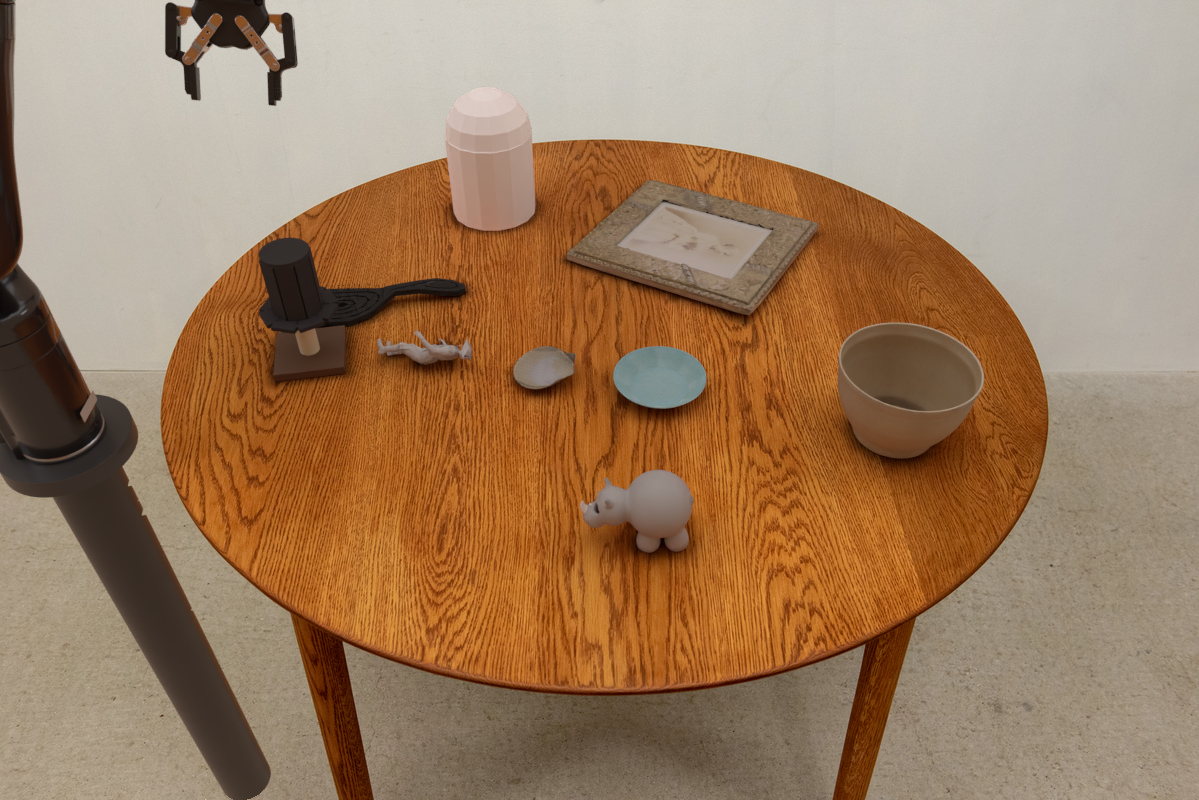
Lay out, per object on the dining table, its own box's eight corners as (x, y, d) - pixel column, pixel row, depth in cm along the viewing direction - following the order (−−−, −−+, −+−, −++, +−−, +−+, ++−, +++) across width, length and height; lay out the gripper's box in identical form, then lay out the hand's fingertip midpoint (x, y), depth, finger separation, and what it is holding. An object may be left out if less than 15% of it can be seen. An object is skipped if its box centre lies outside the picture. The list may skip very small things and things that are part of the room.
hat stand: (274, 382, 122) (243, 280, 111) (279, 339, 129) (249, 239, 118) (345, 373, 123) (321, 271, 113) (346, 331, 130) (323, 231, 119)
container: (450, 191, 158) (437, 75, 144) (530, 184, 160) (523, 69, 146) (456, 234, 148) (442, 114, 135) (541, 226, 150) (535, 106, 136)
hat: (256, 338, 117) (238, 278, 111) (262, 292, 124) (245, 233, 118) (338, 329, 118) (324, 269, 112) (339, 284, 125) (326, 225, 119)
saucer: (697, 427, 116) (698, 413, 114) (603, 412, 118) (603, 398, 116) (711, 366, 124) (712, 353, 123) (623, 353, 126) (624, 340, 125)
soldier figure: (398, 344, 129) (478, 326, 126) (403, 378, 129) (484, 361, 126) (369, 337, 122) (453, 318, 119) (374, 374, 121) (459, 355, 118)
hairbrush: (469, 290, 132) (283, 311, 126) (470, 312, 135) (288, 333, 129) (459, 258, 138) (282, 277, 132) (461, 279, 140) (286, 299, 135)
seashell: (522, 368, 127) (509, 396, 120) (518, 347, 125) (505, 374, 118) (582, 364, 125) (573, 392, 118) (579, 343, 124) (569, 370, 117)
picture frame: (648, 186, 160) (648, 172, 158) (818, 231, 148) (820, 216, 146) (565, 263, 143) (565, 249, 141) (751, 321, 131) (752, 306, 129)
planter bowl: (966, 407, 119) (990, 339, 111) (950, 496, 107) (976, 427, 100) (838, 375, 123) (853, 308, 116) (811, 458, 112) (826, 389, 105)
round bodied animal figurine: (580, 508, 106) (579, 455, 100) (687, 508, 106) (692, 455, 100) (580, 560, 101) (578, 507, 95) (692, 559, 101) (698, 506, 95)
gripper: (153, -59, 102) (162, 97, 107) (290, -46, 105) (294, 106, 110) (168, -47, 109) (177, 99, 114) (297, -35, 112) (300, 107, 117)
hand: (234, 102), depth 112 cm, fingers open, 8 cm apart
